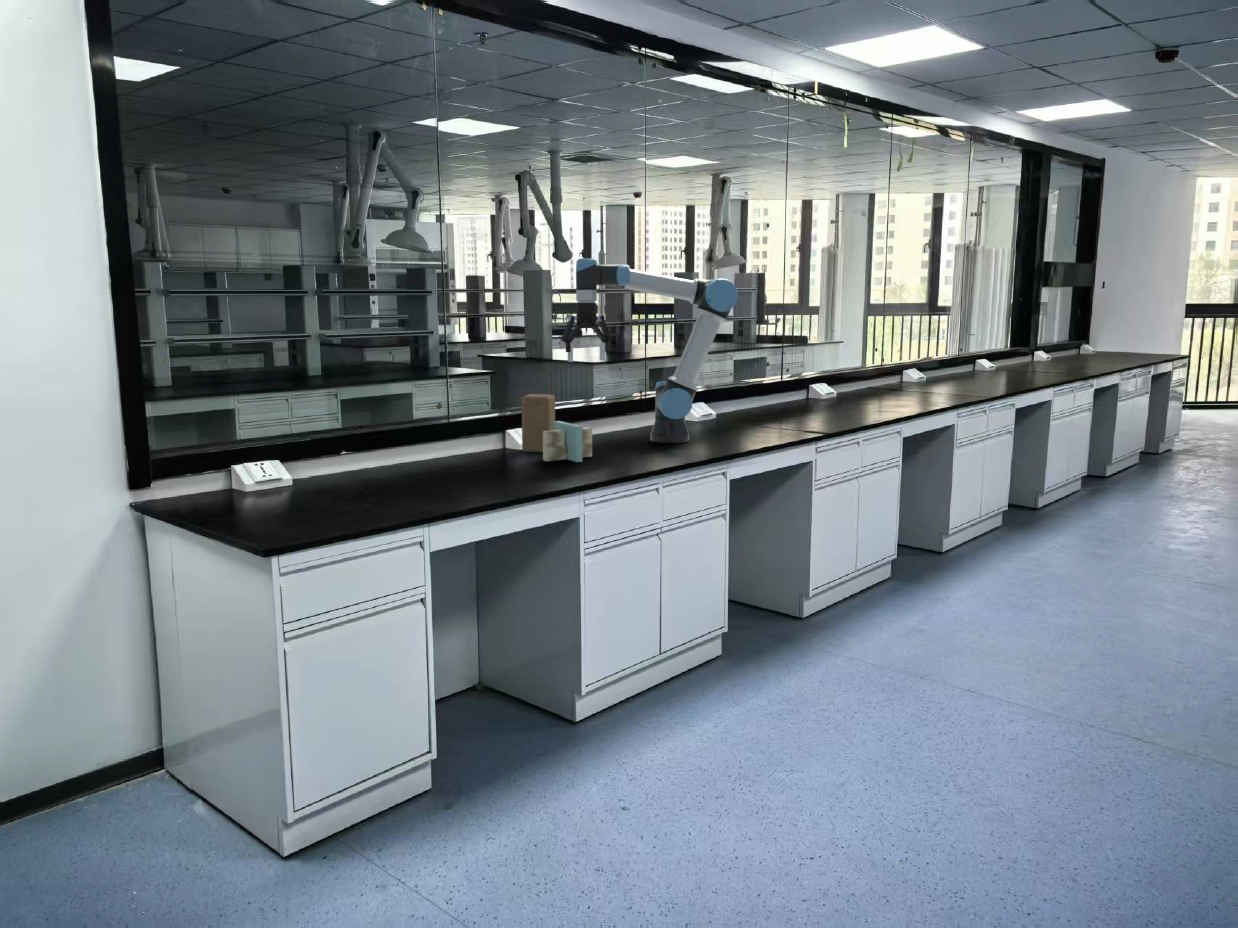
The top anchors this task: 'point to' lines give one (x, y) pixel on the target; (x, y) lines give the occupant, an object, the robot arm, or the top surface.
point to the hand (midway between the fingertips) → (586, 361)
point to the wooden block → (536, 420)
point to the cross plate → (571, 439)
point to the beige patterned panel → (558, 449)
